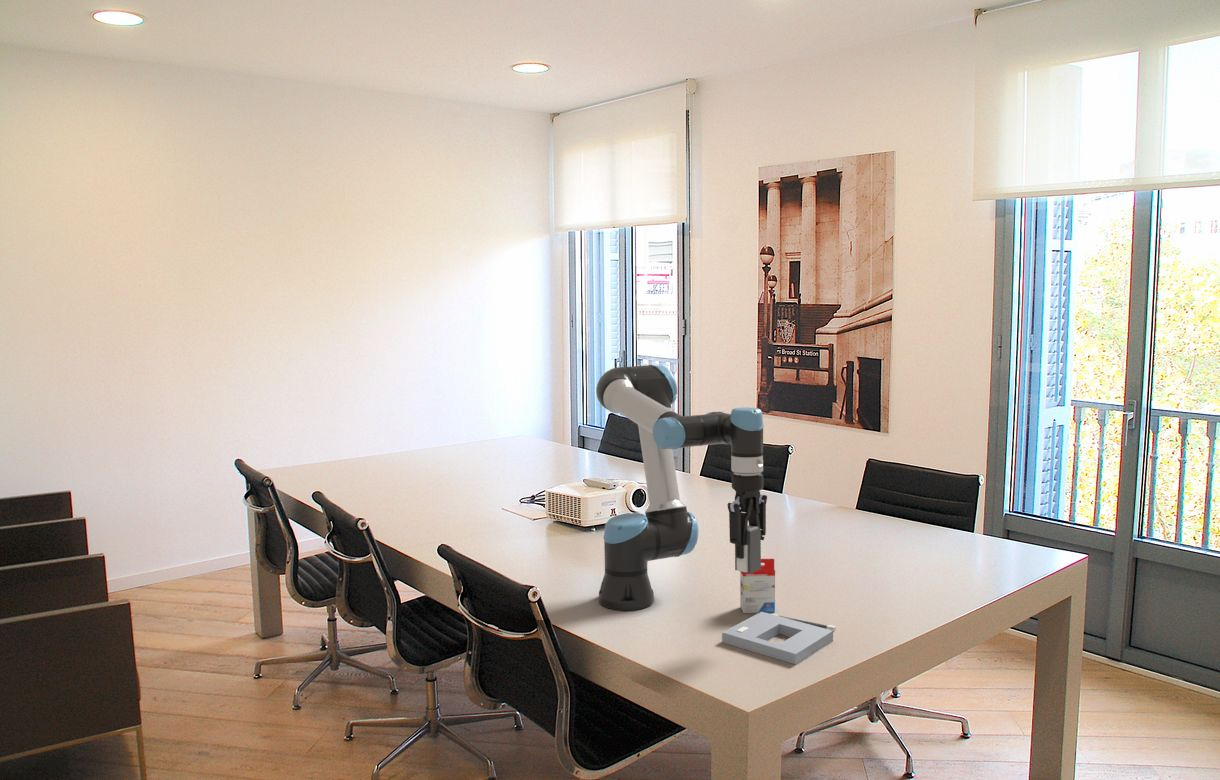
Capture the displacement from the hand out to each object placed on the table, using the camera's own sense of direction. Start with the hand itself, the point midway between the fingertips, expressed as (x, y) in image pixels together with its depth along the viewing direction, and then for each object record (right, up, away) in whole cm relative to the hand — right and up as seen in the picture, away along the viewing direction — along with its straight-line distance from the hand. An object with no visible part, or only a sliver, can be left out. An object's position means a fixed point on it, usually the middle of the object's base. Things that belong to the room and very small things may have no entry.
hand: (748, 568), depth 217 cm
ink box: (+6, -16, +22) cm, 27 cm away
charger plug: (0, 0, 0) cm, 0 cm away
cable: (+16, -16, +12) cm, 26 cm away
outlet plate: (+7, -18, +1) cm, 19 cm away
